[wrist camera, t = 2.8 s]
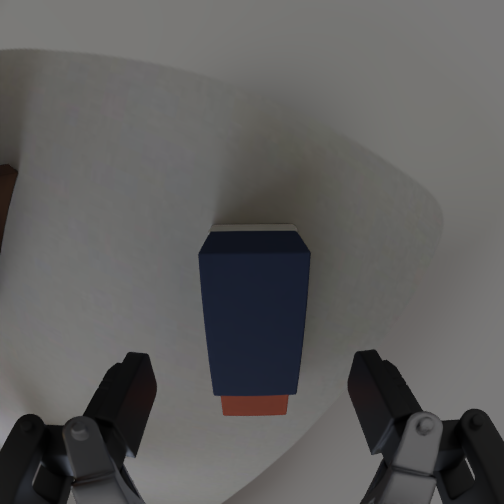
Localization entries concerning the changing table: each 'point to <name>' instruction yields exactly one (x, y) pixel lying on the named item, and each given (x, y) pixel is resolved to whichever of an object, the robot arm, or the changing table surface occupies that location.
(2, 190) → the shoe shelf
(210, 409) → the changing table surface
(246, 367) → the block
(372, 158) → the changing table surface
